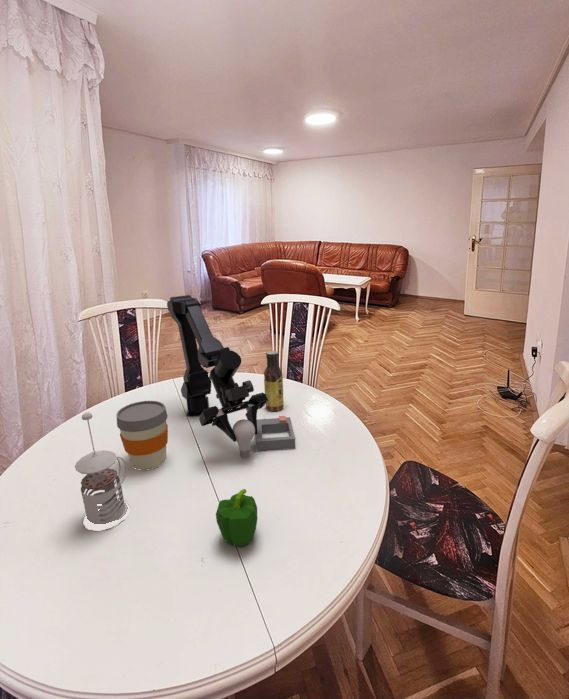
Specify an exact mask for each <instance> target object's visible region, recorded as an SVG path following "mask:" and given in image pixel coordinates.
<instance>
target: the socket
mask: <svg viewBox="0 0 569 699" xmlns="http://www.w3.org/2000/svg"><path fill="white" fill-rule="evenodd" d="M257 432H258V433H257V434H256V435H254V438H255V452H261V451H262V452H264V451H276V450H278V451H279V450H287V449H289V450H290V449H296V437H295V433H294V427H293V423H292V420H291V417H290V416H287V417H286V415H279V416H278V417H276V418H275V417H274V418H260V419H257ZM277 433H288V436H277V437H263V435H264V434H277Z"/></svg>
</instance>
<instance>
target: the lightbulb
mask: <svg viewBox="0 0 569 699" xmlns="http://www.w3.org/2000/svg"><path fill="white" fill-rule="evenodd" d="M231 428H232V430H233V432H234V434H235V437H236V440H237V441H236V443H237V446H238V450H239V454H240V457H241V458H244V459H246V458H247V457H249V456H250V453H251V450H250V449H251V443H252V440H253V439H254V438H255V427H254V425H253V423H252V422H250V421H249V420H248V419H247V418H246V419H245V418H244V419H239V420H236V422H235V423H234V424H233V426H232V427H231Z"/></svg>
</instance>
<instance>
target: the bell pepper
mask: <svg viewBox="0 0 569 699" xmlns="http://www.w3.org/2000/svg"><path fill="white" fill-rule="evenodd" d="M246 493H247V489H246V488H242V489H241V490H239V491H238V493H235V494H233V495H231V497H230V499H222V500H220V501H219V503H218V506H217V510H216V512H215V519H216V524H217V526H218V529H219V531H220V534H221V536H222V539H223V541H225V542H226V543H227V544H229V545H232V544H233V545H234V546H236V547H239V548H241V547H245V546H247V545H249V544H250V543H251V542H252V541H253V540H254V537H255V533H256V529H257V524H258V506H257V503H256V500H255V498H254V497H253V496H250V495H246Z"/></svg>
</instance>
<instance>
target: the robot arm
mask: <svg viewBox="0 0 569 699" xmlns="http://www.w3.org/2000/svg"><path fill="white" fill-rule="evenodd" d="M166 307H167V311H168V313H170V314H169V315H170V317H171V319H172V320H173V322H175V323H176V324H177V327H178V331H179V336H180V342H181V346H182V352H183V356H184V361H185V362H184V363H185V371H184V373H183V382H182V383H183V384H182V386H181V388H180V392H181V396H182V397H183V398H184V400H186V407H187V414H186V416H187V417H194V416H199V417H198V419H199V424H200V426H201V427H205V426H208V425H211V426H212V427H215V426H216V427H217V428H218V429H220V431H222V432H223V433H224V434H225V435H226V436H228V437H229V439H230V440H232V441H233V442H234V443H235V442H236V443H237V440H236V437H235V434H234V432H233V430H232V428H233V427H232V426H231V423H230V421H229V417H228V414H233V413H236V412H239V411H242V410H245V411H246V413H245V417H246V420H249V421H250V422H252V423H253V425H254V427H255V435H256V434H257V433H258V432H257V416H258V410H260V409H262V408H263V407H264V406H266V403H267V401H268V398H267V395H266V394H265V392H260V393H255V394H253V395H251V396H250V393H254V391H255V388H254V385H253V382H252V381H251V380H249V379H248V380H246V381H242V382H241V384H242V385H239V384H238V382H235V379H234V376H235V374H236V373H237V372H238V369H239V368H240V366H241V364H242V357H241V355H239V353H237V351H235V350H231V349H230V347H229V346H227V347H224V345H223V344H222V342H221V340H219V339H218V338H216V337H215V336H214V334H213V333H212V331H211V329H210V327H209V324H208V322H207V320H206V318H205V316H204V313H203V311H202V308H201V307H202V306H201V303H200V301H199V300H198V298H196V297H192V296H191V295H190V294H186V295H178V296H170V297H169V300H168V301H167V302H166ZM205 368H206V369H209V368H212V369H211V370H210V372H209V371H207V370H206V369H205ZM212 386H213V388H214V390H215V393H216V395H215V397H216V399H218V400H219V403H220V405H221V406H220V408H218V406H217V405H214V406H210V401H209V400H210V399H209V396H207V395H210V394H212ZM248 397H250V398H249V399H248V400H246V399H247V398H248ZM245 400H246V401H245ZM255 435H254V436H255Z"/></svg>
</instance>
